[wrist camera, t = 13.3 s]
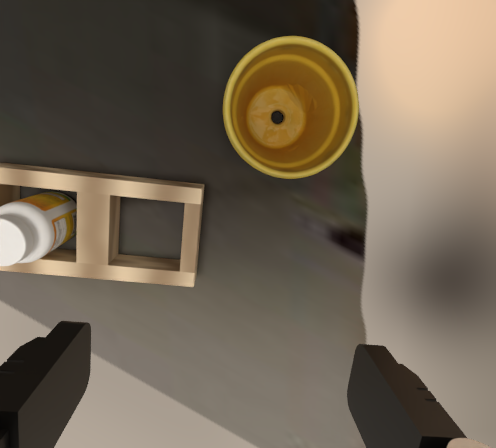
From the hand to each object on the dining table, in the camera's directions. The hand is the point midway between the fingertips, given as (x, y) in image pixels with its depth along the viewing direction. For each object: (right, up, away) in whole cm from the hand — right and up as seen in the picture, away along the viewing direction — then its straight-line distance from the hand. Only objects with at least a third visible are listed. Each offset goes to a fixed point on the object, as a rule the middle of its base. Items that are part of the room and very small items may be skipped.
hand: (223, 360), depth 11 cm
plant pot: (+4, +15, +26) cm, 30 cm away
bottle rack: (-14, +4, +27) cm, 31 cm away
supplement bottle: (-19, +5, +27) cm, 33 cm away
